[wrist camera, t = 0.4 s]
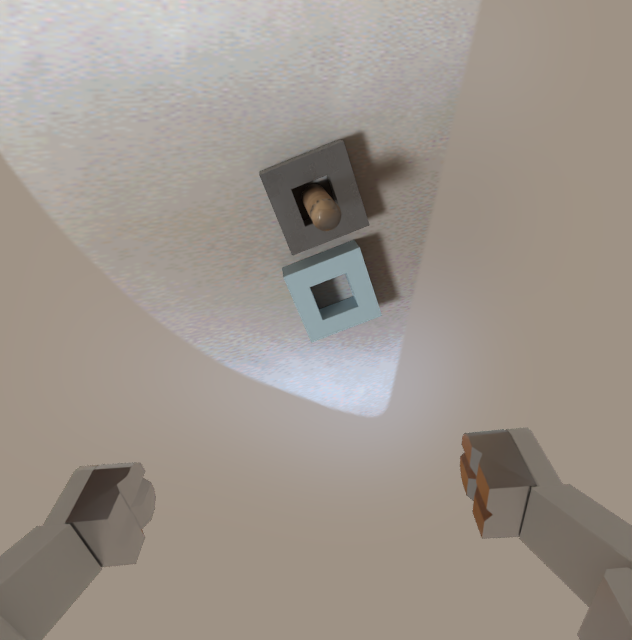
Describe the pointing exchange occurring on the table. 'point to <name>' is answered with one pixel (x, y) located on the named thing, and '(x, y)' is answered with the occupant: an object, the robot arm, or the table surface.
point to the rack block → (326, 268)
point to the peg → (321, 207)
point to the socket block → (305, 170)
